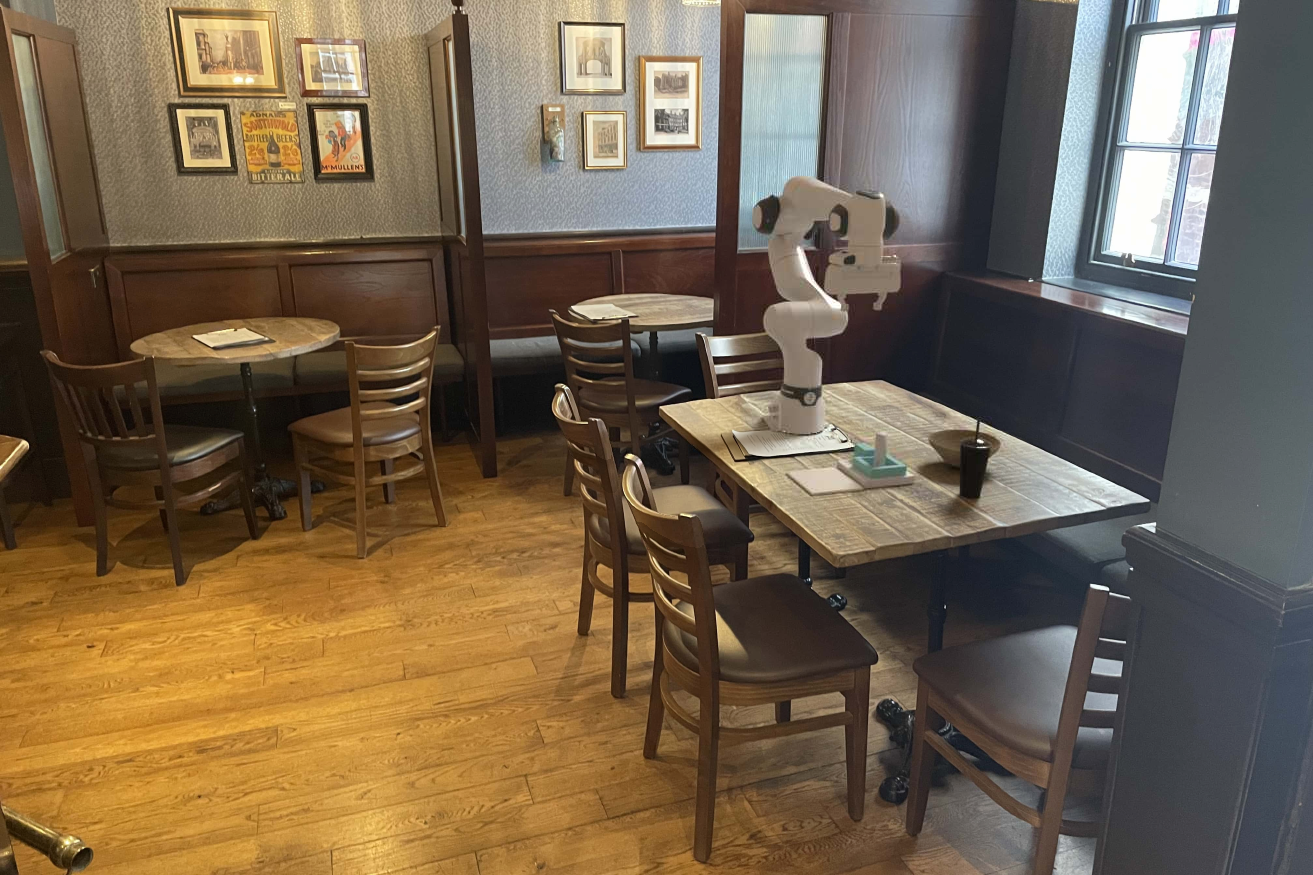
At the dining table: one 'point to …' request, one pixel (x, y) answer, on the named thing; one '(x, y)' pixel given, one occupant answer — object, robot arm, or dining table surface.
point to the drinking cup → (973, 464)
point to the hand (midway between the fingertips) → (860, 310)
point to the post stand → (879, 461)
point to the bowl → (957, 444)
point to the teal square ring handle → (865, 462)
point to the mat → (824, 481)
